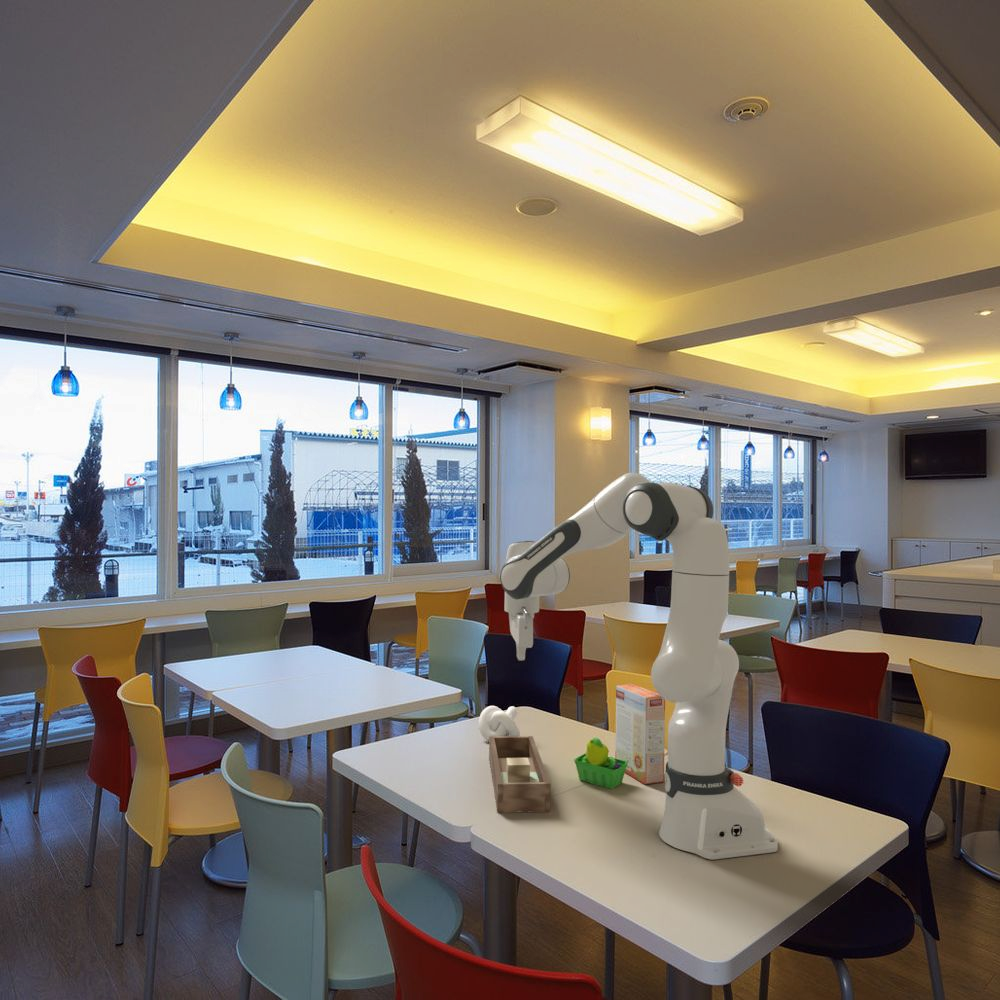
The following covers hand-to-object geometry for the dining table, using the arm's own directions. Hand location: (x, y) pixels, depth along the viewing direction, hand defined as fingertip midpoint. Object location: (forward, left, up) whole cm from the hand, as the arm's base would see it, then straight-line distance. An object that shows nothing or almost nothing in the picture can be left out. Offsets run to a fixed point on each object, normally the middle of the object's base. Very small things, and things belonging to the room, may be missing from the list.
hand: (520, 659), depth 185 cm
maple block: (+2, +16, -24) cm, 29 cm away
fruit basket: (-18, +11, -28) cm, 35 cm away
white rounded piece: (+3, -24, -28) cm, 37 cm away
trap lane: (+2, +11, -27) cm, 29 cm away
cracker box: (-29, +6, -28) cm, 41 cm away
